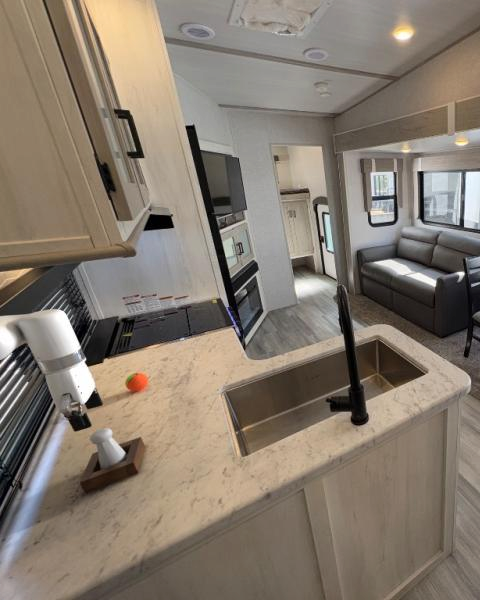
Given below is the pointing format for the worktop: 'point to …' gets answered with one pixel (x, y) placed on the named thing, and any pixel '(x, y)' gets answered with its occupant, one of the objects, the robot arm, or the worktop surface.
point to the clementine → (136, 382)
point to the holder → (113, 467)
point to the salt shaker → (107, 448)
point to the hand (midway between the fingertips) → (89, 417)
